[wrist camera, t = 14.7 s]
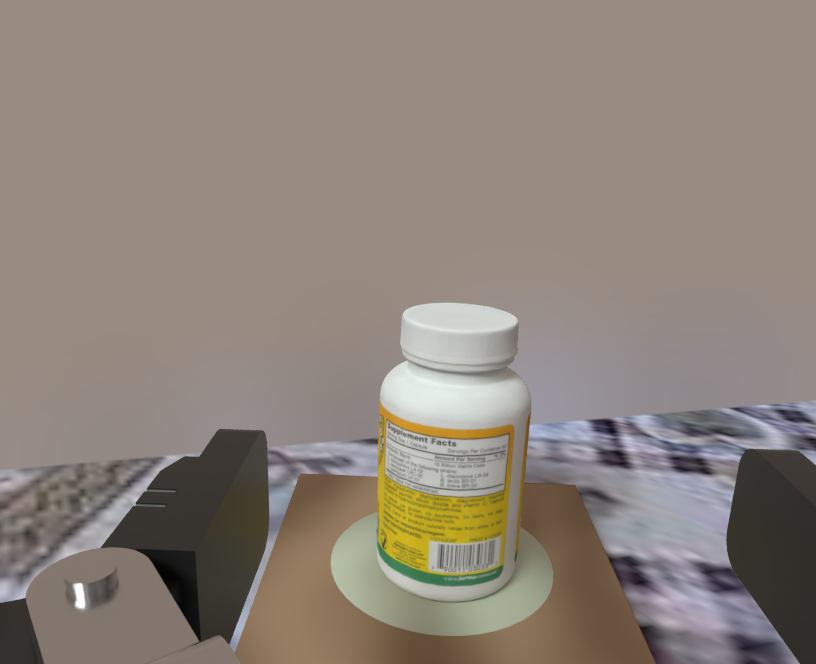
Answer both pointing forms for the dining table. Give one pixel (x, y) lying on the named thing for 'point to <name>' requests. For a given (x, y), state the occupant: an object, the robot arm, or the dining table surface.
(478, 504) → the supplement bottle
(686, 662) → the dining table surface
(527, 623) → the walnut board
